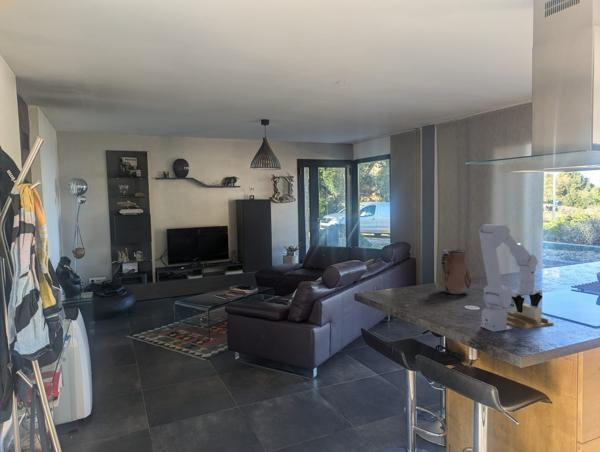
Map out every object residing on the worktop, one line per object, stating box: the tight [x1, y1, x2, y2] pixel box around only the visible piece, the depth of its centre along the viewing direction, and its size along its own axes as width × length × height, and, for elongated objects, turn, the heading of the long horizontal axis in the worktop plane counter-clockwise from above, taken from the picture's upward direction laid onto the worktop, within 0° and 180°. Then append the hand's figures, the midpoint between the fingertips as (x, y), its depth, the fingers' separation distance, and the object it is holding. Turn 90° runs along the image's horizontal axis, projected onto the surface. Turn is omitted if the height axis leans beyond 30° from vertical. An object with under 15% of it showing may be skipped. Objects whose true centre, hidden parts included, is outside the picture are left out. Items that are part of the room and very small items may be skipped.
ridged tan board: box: [507, 310, 554, 330], centre depth 186 cm, size 16×18×2 cm
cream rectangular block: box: [513, 302, 542, 323], centre depth 186 cm, size 3×12×6 cm, turn 15°
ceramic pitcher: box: [438, 248, 472, 295], centre depth 244 cm, size 18×21×25 cm
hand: (526, 311), depth 186 cm, fingers open, 7 cm apart
